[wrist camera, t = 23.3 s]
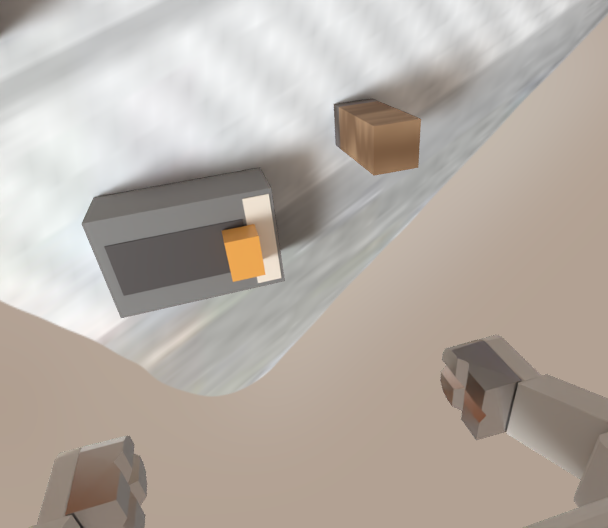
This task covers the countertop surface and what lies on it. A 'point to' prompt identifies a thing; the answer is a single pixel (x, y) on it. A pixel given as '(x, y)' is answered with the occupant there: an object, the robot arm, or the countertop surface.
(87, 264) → the countertop surface
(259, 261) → the switch tab
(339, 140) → the brown wooden block
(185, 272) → the switch box
